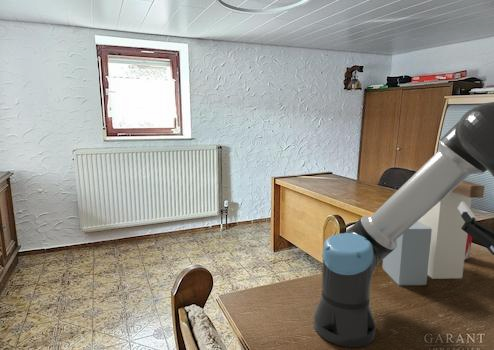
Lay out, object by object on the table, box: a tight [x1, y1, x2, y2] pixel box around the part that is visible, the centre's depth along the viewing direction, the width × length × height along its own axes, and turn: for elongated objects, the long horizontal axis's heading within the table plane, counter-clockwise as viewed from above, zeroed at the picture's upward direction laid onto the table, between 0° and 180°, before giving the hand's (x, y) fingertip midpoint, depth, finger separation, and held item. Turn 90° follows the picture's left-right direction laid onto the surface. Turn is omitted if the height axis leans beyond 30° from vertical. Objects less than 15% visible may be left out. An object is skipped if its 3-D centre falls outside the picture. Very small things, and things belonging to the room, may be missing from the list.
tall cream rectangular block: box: [418, 192, 473, 280], centre depth 111 cm, size 10×15×30 cm, turn 1°
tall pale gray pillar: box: [381, 221, 432, 286], centre depth 106 cm, size 9×12×19 cm
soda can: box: [464, 233, 473, 261], centre depth 121 cm, size 7×7×12 cm
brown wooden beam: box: [451, 180, 485, 199], centre depth 103 cm, size 9×22×4 cm, turn 1°
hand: (484, 204), depth 90 cm, fingers open, 13 cm apart
